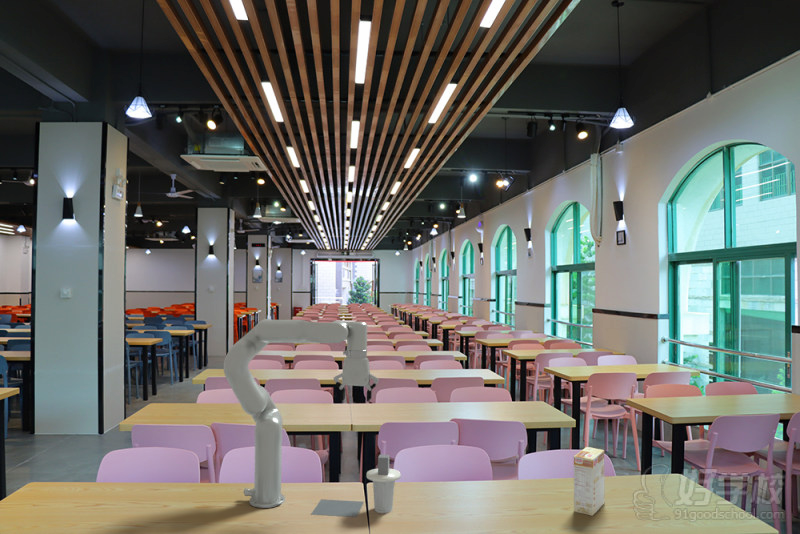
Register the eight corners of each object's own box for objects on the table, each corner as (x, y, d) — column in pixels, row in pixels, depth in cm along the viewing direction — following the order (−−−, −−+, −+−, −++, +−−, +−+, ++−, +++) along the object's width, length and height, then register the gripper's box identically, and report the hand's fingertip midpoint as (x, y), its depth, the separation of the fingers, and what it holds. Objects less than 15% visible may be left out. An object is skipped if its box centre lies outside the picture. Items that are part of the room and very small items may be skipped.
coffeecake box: (586, 498, 214) (586, 446, 215) (605, 503, 210) (605, 449, 211) (572, 511, 202) (572, 455, 203) (593, 516, 198) (593, 459, 199)
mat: (310, 515, 196) (310, 514, 196) (321, 500, 210) (321, 499, 210) (356, 518, 194) (356, 517, 194) (364, 503, 208) (364, 501, 208)
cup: (392, 516, 196) (392, 480, 197) (369, 514, 198) (370, 479, 198) (396, 507, 204) (397, 473, 204) (375, 505, 206) (375, 471, 206)
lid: (363, 481, 196) (363, 460, 196) (369, 470, 208) (370, 450, 208) (398, 483, 195) (398, 462, 195) (402, 471, 207) (402, 452, 207)
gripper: (331, 354, 213) (330, 401, 213) (377, 356, 211) (376, 403, 210) (336, 352, 221) (335, 397, 220) (381, 354, 218) (380, 399, 218)
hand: (355, 400), depth 215 cm, fingers open, 9 cm apart
